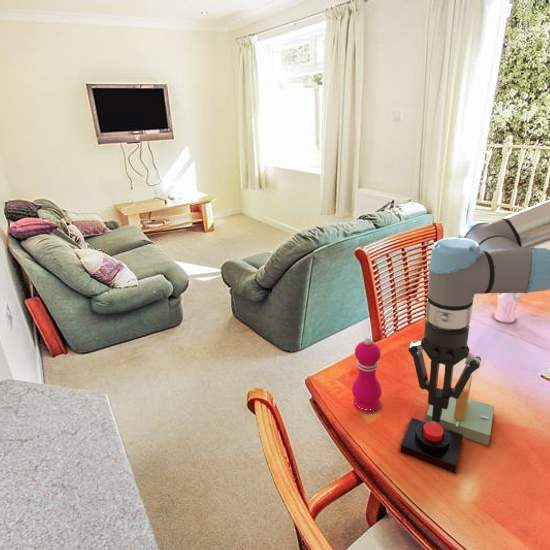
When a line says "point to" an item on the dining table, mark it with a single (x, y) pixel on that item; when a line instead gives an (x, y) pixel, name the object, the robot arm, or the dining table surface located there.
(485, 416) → the plate
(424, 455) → the button block
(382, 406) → the dining table surface
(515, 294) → the beer glass
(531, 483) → the dining table surface
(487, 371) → the dining table surface
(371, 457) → the dining table surface
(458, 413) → the handle
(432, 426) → the button
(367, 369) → the pepper mill
